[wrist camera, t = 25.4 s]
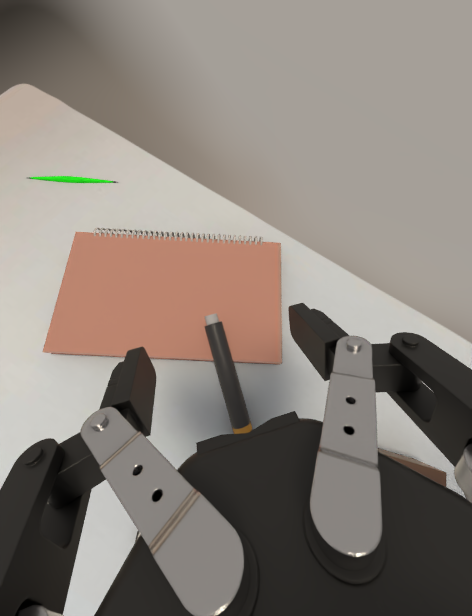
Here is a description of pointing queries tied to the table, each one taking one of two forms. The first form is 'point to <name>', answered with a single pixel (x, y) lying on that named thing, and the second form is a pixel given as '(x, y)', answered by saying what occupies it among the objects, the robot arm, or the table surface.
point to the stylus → (227, 375)
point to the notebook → (168, 296)
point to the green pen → (71, 179)
